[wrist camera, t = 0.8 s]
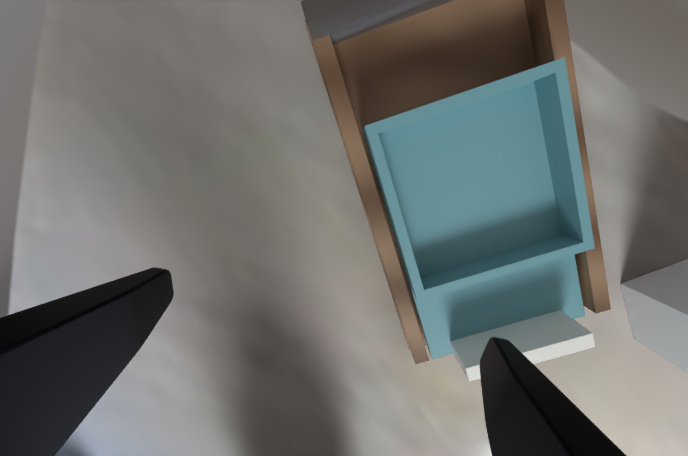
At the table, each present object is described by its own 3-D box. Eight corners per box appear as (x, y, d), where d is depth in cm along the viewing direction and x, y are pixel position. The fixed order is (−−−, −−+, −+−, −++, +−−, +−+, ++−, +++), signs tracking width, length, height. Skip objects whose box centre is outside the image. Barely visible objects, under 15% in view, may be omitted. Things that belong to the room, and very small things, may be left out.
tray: (576, 310, 23) (621, 339, 20) (429, 352, 24) (444, 388, 20) (534, 70, 20) (578, 51, 16) (362, 129, 20) (365, 124, 17)
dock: (590, 295, 24) (624, 316, 21) (408, 347, 25) (417, 373, 22) (531, -59, 18) (566, -99, 16) (305, 25, 20) (299, 2, 17)
